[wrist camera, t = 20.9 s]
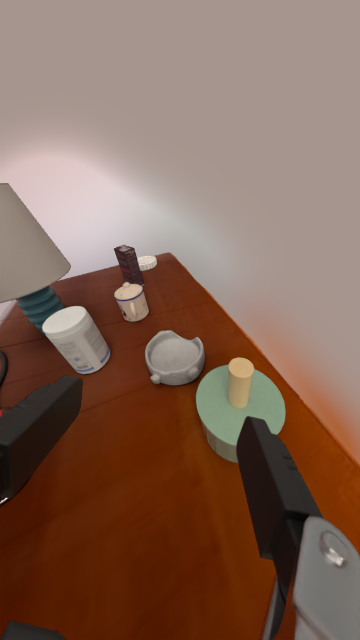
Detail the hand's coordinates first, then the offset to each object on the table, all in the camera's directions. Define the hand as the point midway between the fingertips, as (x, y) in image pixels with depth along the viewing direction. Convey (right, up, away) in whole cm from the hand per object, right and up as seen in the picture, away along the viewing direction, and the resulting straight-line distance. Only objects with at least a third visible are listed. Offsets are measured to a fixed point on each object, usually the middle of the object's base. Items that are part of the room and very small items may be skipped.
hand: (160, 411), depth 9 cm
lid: (+10, -8, +19) cm, 23 cm away
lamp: (-40, +1, +56) cm, 69 cm away
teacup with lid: (-13, +5, +54) cm, 56 cm away
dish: (0, -6, +37) cm, 37 cm away
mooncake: (-17, +32, +88) cm, 95 cm away
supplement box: (-18, +19, +73) cm, 78 cm away
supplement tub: (-22, -7, +41) cm, 48 cm away
